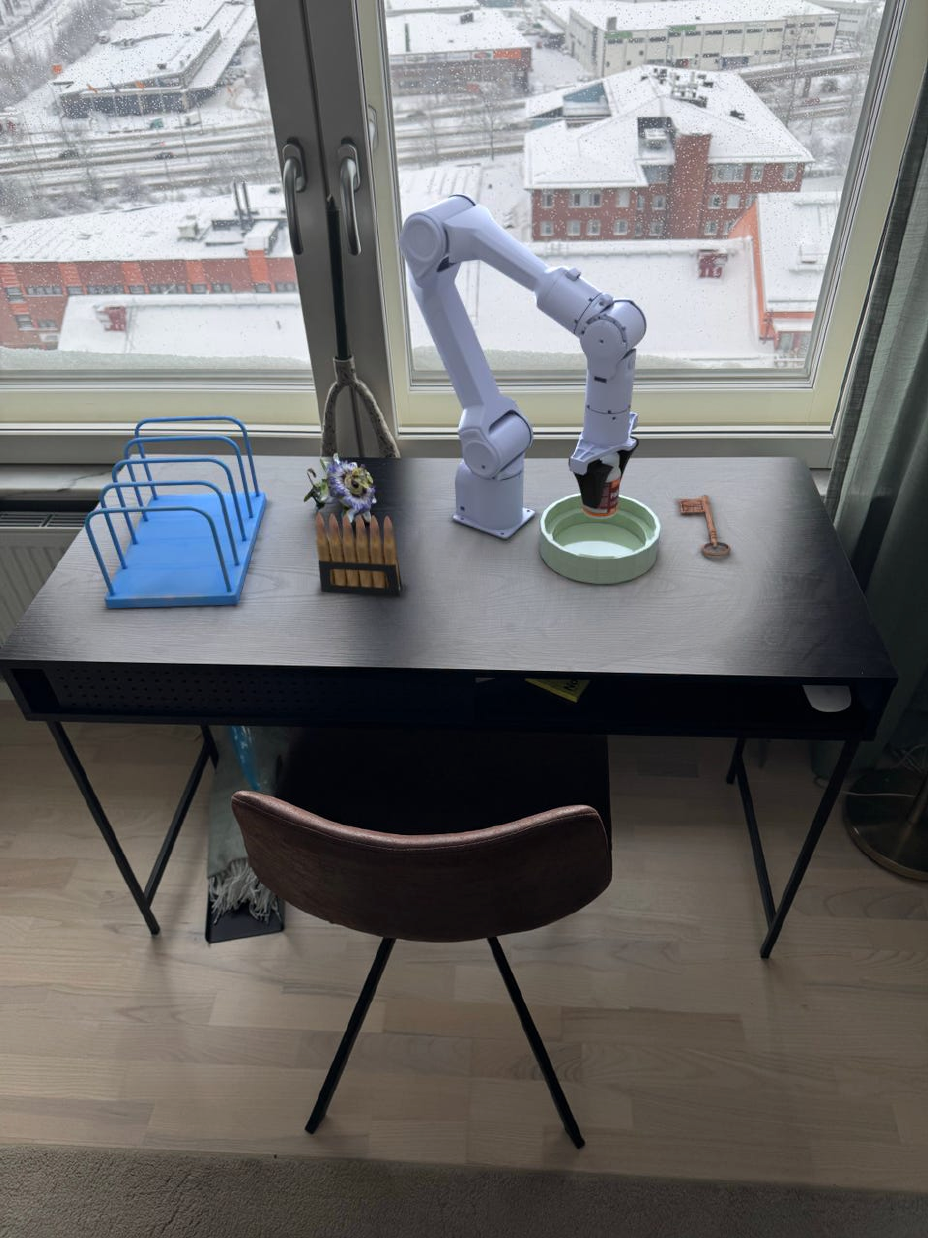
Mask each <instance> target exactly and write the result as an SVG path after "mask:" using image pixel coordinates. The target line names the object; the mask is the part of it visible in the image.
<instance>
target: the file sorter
mask: <svg viewBox="0 0 928 1238" xmlns="http://www.w3.org/2000/svg"><path fill="white" fill-rule="evenodd" d="M194 421H195V422H196V421H197V422H198V421H229V422H232V423H234V424H236V425H237V426H238V428H240V430H241V432H242V437H243V440H244V444H245V449H246V454H247V459H248V463H249V468H250V474H251V478H252V483H253V488H254V491H249V487H248V482H247V478H246V477H247V476H246V472H245V467H244V462H243V459H242V458H243V457H242V453H241V451H240V448H239V445H237V443H236V442H235V441H234V440H232V439H231V438H229V437H227V436H224V435H220V434H208V435H207V434H205V435H202V434H201V435H200V434H199V435H172V436H171V435H168V436H146V437H145V436H143V437H141V436H140V428H141V427H142V426H143V425H145V424H149V423H169V422H170V423H171V422H194ZM134 437H135V438H132V439H131V440H129V441H128V442H127V444H126V445H125V447H124V450H123V457H124V459H121V460H120V461H118V462H117V463H115V465H114V466H113V468H112V470H111V479H112V482H111V483H109V484H106V485H105V486H104V487H103V488H102V489H101V491H100V493H99V495H98V497H99V503H100V507H101V508H96V509H93V510H92V511H90V512H89V513H88V514H87V516H86V517H85V520H84V529H85V532H86V534H87V537H88V540H89V543H90V545H91V548H92V551H93V553H94V556H95V558H96V562H97V564H98V566H99V569H100V571H101V574H102V577H103V579H104V582H105V585H106V587H107V591H106V594H105V596H104V602H105V605H106V608H107V609H124V608H125V609H126V608H127V609H128V608H154V607H155V608H156V607H187V606H189V607H190V606H219V605H220V606H221V605H223V606H224V605H237V604H238V603H239V600H240V597H241V593H242V589H243V586H244V581H245V578H246V574H247V571H248V567H249V565H250V561H251V558H252V555H253V550H254V546H255V543H256V539H257V537H258V532H259V528H260V526H261V521H262V518H263V515H264V511H265V508H266V504H267V502H268V501H267V495H266V492H265V491H260V489H259V482H258V479H257V473H256V468H255V464H254V458H253V455H252V448H251V444H250V440H249V435H248V431H247V428H246V426H245V424H244V423H243V422H242V421H240V420H239V419H238V418H236V417H235V416H231V415H223V414H222V415H221V414H219V415H216V414H215V415H186V416H185V415H183V416H161V417H158V416H157V417H146V418H143V419H141V420H140V421H139V422H138V423H137V424H136V427H135V429H134ZM188 441H221V442H225V443H227V444H229V446H231V447H232V449H234V453H235V456H236V459H237V463H238V468H239V473H240V478H241V483H242V488H243V492H237V490H236V485H235V482H234V479H233V475H232V471H231V469H230V467H229V466H228V465H227V463H226V462H224V461H222V460H221V459H219V458H217V457H214V456H185V457H184V456H183V457H182V456H181V457H180V456H179V457H152V458H151V457H150V458H146V454H145V450H144V447H143V444H142V443H158V442H188ZM134 444H136V445H137V448H138V452H139V455H140V458H132V459H131V458H130V453H129V450H130V448H131V447H132V446H134ZM170 463H172V464H173V463H175V464H176V463H177V464H178V463H213V464H216V465H218V466H220V467H221V468H223V470H224V472H225V474H226V476H227V481H228V485H229V489H230V492H222V490H221V489H220V488H219V487H218V486H217V485H216V484H215V483H213V482H210V481H208V480H205V479H179V480H178V479H174V480H173V479H172V480H153V477H152V475H151V471H150V468H149V465H148V464H170ZM133 465H143V468H144V471H145V475H146V478H147V480H144V481H137V479H136V475H135V472H134V468H133ZM123 466H126V468H127V471H128V474H129V477H130V481H121V482H120V481H119V480H118V477H117V472H118V470H119V468H121V467H123ZM173 486H174V487H175V486H205V487H207V488H210V489H211V490H213V491H214V493H211V492H210V493H187V494H185V493H184V494H157V491H156V487H173ZM143 487H144V488H145V487H149V488H150V492H151V494H152V495H151V496H150V499H149V500H148V503H147V504H146V506H145V505H144V502H143V499H142V495H141V491H140V488H143ZM121 488H133V490H134V493H135V496H136V499H137V503H138V506H127V505H126V501H125V498H124V496H123V492H122V489H121ZM112 489H114V490H115V493H116V496H117V498H118V501H119V505H120V507H108V506H107V504H106V500H105V495H106V493H107V492H108V491H109V490H112ZM129 513H141V517H140V519H139V522H138V523H137V526H136V528H135V530H134V527H133V524H132V521H131V518H130V514H129ZM110 514H123V517H124V520H125V523H126V526H127V529H128V532H129V534H130V537H131V539H130V541H129V543H128V545H127V548H126V550H125V552H124V553H123V551H122V548H121V546H120V543H119V539H118V536H117V534H116V531H115V528H114V525H113V522H112V519H111V516H110ZM98 515H103V516H104V519H105V522H106V525H107V527H108V528H107V529H108V531H109V534H110V537H111V539H112V543H113V545H114V548H115V552H116V555H117V557H118V559H119V565H118V568H117V570H116V572H115V574H114V577H113V578H112V581H111V579H110V576H109V573H108V571H107V567H106V564H105V563H104V560H103V557H102V554H101V552H100V549H99V547H98V544H97V540H96V538H95V535H94V533H93V530H92V527H91V519H92V518H93V517H95V516H98Z"/></svg>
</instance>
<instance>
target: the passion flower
mask: <svg viewBox="0 0 928 1238" xmlns="http://www.w3.org/2000/svg"><path fill="white" fill-rule="evenodd" d="M331 461H332V463H331V462H330V461H329V462H328V461H327V460H326V458H320V459H319V462H320V465H321V467H322V470H323V471H324V474H325V476H326V478H321V481H317V482H313V479H312V478H311V475H310V473H311V474H312V477H313V478H314V479H317V473H316V472H315V470H314V468H312V467H310V468H309V467H308V469H307V471H306V475H307V477H308V479H309V482H310V484H311V486H312V488H311V489H310V490H309V492H308V493H306V495H305V496H304V498H303V502H304V503H306V502H307V501H308V500H310V499H311V498H313V500H314V502H315V509H314V510H315V516H317V514H318V513H319V511H320V510H321V509H323V508H324V507H325V505H334V504H337V503H340V504H341V505H342V507H343V509H342V512H341V515H340V516H341V517H340V520H341V522H343V517H344V515H345V514H346V515H347V516H348V518H349V520H350V523H351V524H353V525H355V526H356V521H357V517H358V515H360V516H361V517H362V519H363V522H364V523H367V524H370V521H371V517H372V515H371V512H370V510H371V508H372V505H376V504H377V499H376V497H375V492H376V489H375V488H376V487H377V485H374V484H373V483H374V480H373V478H372V476H371V474H370V472H369V471H367V469H366V466H365V464H363V463H362V464H361V465H360V466H359V467H358V463H357V462H352V461H351V462H349V459H348V460H345V461H344V460H342V461H341V460H340V458H339V454H338V453H334V454H333V457H332V460H331Z"/></svg>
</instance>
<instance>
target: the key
mask: <svg viewBox="0 0 928 1238" xmlns="http://www.w3.org/2000/svg"><path fill="white" fill-rule="evenodd" d="M678 502H679V509H680V515H684V514H685V515H686V514H705V518H706V523H707V528H708V534H709V539H710V542H707V543H705V544H704V545H702V546H701V552H702V553H703V554H704V555H705V556H708V557H714V558H715V557H724V556H726V555H728V554H730V552H731V546H730V545H729V544H727V543H725V542H722V541H718V538H717V531H716V528H715V524H714V523H715V522H714V520H713V514H712V510H711V506H710V501H709V496H708V495H707V494H703V495H702V496H701V497H700V498H680V499H678ZM710 547H714V549H716V548H717V547H722V548H725V549H726V550H724V551H721V552H712V551H708V550H707V548H710Z"/></svg>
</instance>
